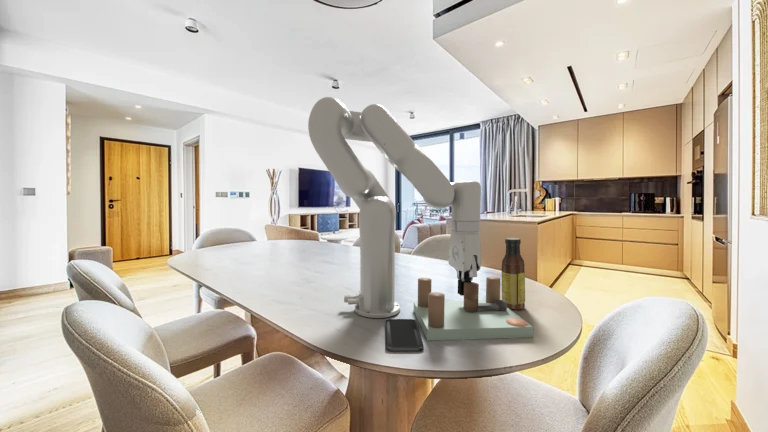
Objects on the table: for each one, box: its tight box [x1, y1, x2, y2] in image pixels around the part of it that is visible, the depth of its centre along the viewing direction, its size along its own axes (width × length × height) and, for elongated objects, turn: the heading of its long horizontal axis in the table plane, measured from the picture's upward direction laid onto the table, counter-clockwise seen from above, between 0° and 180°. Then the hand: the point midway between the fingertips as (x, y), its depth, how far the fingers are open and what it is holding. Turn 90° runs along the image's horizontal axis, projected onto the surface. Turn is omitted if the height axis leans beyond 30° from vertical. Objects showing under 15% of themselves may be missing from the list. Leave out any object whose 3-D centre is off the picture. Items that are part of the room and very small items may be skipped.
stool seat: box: [413, 276, 534, 341], centre depth 77 cm, size 24×18×9 cm
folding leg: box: [463, 281, 507, 312], centre depth 79 cm, size 11×4×7 cm, turn 94°
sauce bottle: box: [501, 237, 526, 311], centre depth 88 cm, size 7×6×20 cm
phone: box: [385, 318, 425, 353], centre depth 70 cm, size 8×1×15 cm
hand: (464, 294), depth 83 cm, fingers closed
